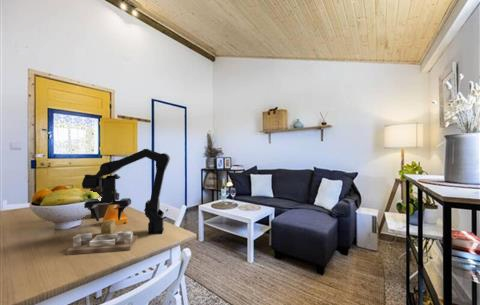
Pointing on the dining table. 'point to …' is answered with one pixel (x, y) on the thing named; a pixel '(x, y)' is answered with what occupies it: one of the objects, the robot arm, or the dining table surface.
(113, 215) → the bracket
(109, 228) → the tan rectangular block
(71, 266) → the dining table surface
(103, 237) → the coupling base
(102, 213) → the olive oil
